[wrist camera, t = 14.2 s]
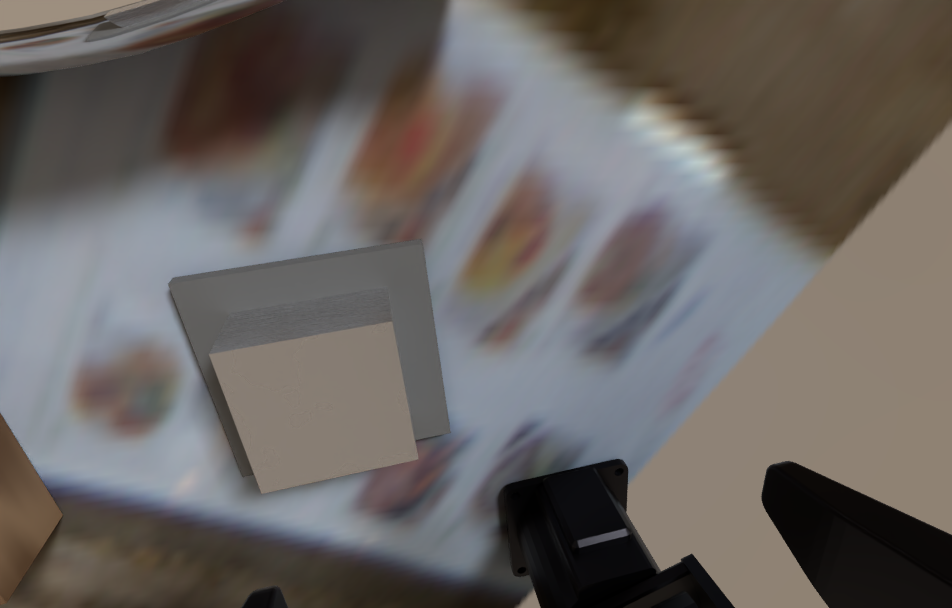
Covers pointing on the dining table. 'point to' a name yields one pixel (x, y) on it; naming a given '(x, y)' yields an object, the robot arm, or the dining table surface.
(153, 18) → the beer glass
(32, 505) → the plane body
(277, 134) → the dining table surface
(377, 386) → the square block
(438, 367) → the mat
